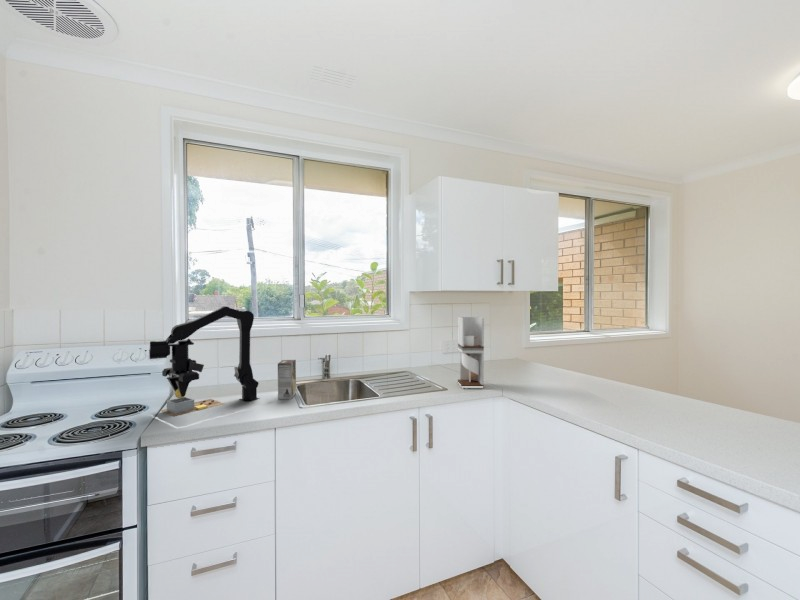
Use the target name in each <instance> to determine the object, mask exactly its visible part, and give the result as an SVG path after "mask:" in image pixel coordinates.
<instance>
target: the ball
mask: <svg viewBox="0 0 800 600" xmlns="http://www.w3.org/2000/svg"><path fill="white" fill-rule="evenodd" d="M186 395H187V393H186V394H185V396H186ZM174 396H175V398H176V399H177V398H183V397H185V396H183V397H182V396H181V394H180V392H179V389H177V390H176V391H174Z"/></svg>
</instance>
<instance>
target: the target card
mask: <svg viewBox="0 0 800 600" xmlns="http://www.w3.org/2000/svg"><path fill="white" fill-rule="evenodd" d="M205 408H206V409H209V408H208V406H207V405H204V404H203V405H198V406H194V409H197V410H198V411H202V410H205ZM201 409H202V410H201Z"/></svg>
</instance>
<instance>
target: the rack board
mask: <svg viewBox="0 0 800 600" xmlns="http://www.w3.org/2000/svg"><path fill="white" fill-rule="evenodd" d="M203 404H204V405H207V406H208V408H205V409H210V408H213V407H217V406H222V405H225V403H224V402H221V401H218V400H215V399H212V398H209V399H204V400H201V401H196V402H195V401H194V406H198V405H203ZM205 409H204V410H205ZM202 410H203V409H201V410H200V411H202ZM160 411H161V412H163V413H164V414H168V415H170V416H172V417H177V416H178V417H179V416H182V415H187V414H189V413H193V412H197V411H199V410H197V409H194V410H190V411H186V412H182V413H178V414H174V413H171V412H169V411H167V408H165V409H161V410H160Z"/></svg>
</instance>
